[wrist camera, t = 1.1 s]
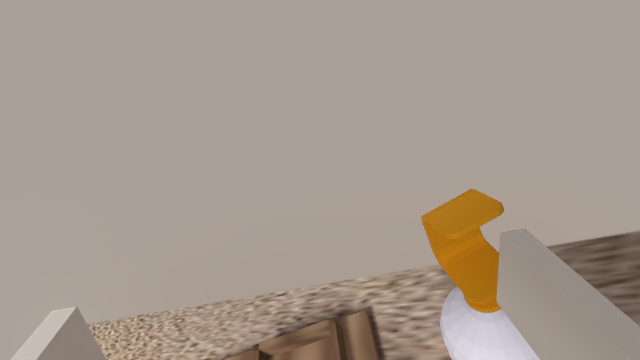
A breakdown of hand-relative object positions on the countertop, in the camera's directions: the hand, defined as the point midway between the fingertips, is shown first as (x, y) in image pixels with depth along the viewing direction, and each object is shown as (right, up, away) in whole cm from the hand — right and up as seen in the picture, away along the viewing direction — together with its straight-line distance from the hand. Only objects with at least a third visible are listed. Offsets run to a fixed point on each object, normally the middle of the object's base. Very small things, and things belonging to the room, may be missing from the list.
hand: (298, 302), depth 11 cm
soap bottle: (+20, -16, +26) cm, 36 cm away
